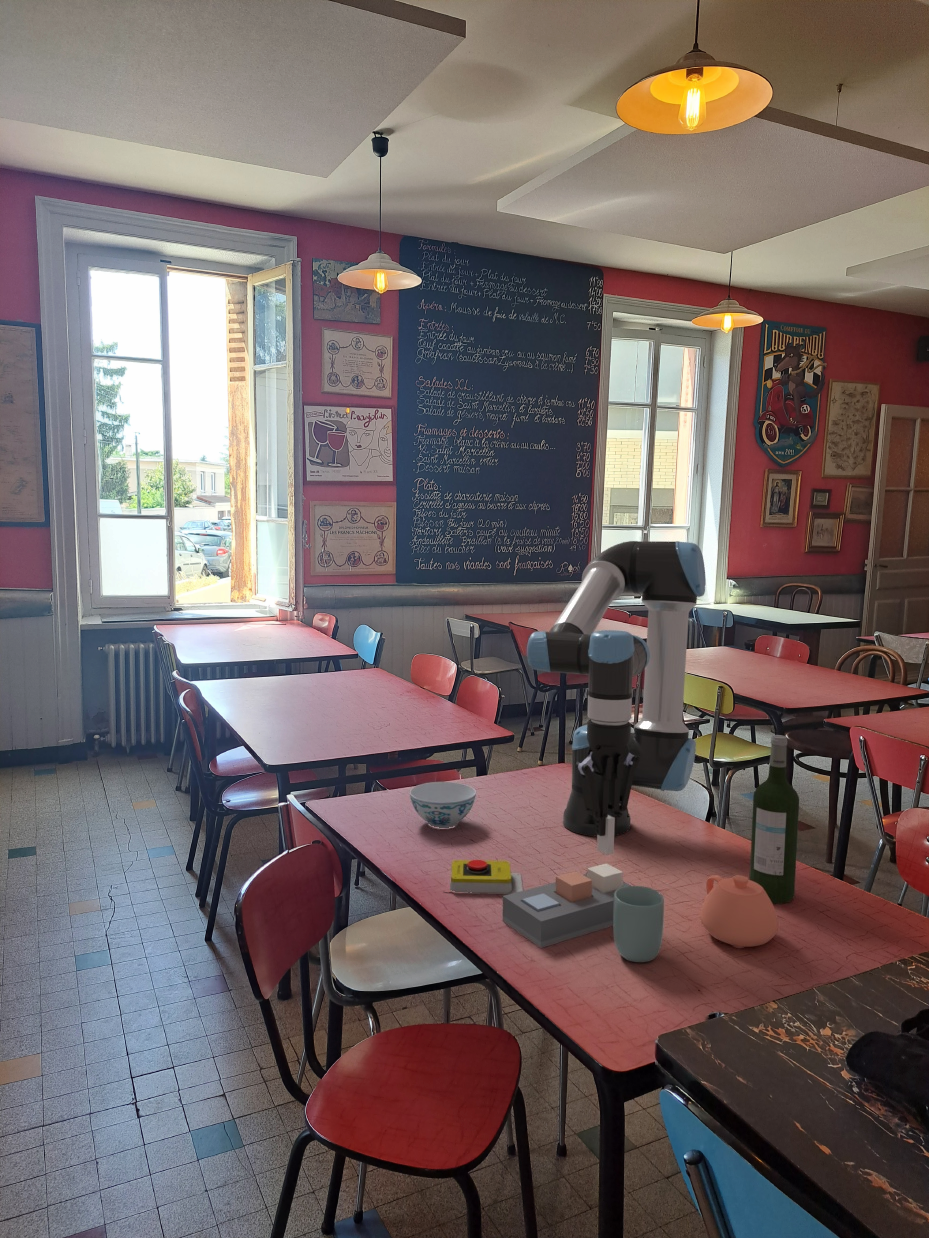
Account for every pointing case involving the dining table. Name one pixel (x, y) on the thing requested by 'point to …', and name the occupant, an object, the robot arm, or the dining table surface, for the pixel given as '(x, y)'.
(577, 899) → the orange key
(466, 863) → the emergency button
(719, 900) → the sugar bowl
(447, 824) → the chinaware
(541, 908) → the blue key
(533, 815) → the dining table surface
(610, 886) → the ivory key
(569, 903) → the key panel
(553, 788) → the dining table surface
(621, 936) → the cup
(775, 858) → the wine bottle
